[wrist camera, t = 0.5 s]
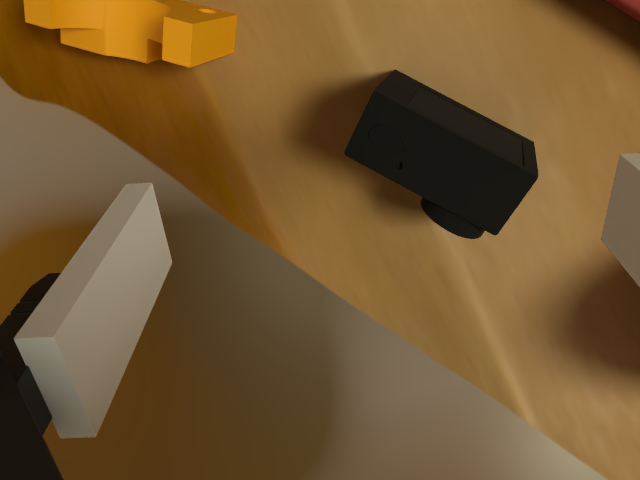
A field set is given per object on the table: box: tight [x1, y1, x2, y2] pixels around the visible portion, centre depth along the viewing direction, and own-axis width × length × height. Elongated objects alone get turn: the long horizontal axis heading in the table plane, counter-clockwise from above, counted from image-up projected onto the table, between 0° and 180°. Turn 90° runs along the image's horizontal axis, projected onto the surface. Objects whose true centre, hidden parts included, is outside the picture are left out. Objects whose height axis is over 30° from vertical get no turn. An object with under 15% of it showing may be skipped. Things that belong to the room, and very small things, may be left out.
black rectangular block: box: [345, 70, 538, 239], centre depth 35 cm, size 10×5×7 cm, turn 66°
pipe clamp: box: [24, 0, 237, 68], centre depth 38 cm, size 12×4×6 cm, turn 79°
